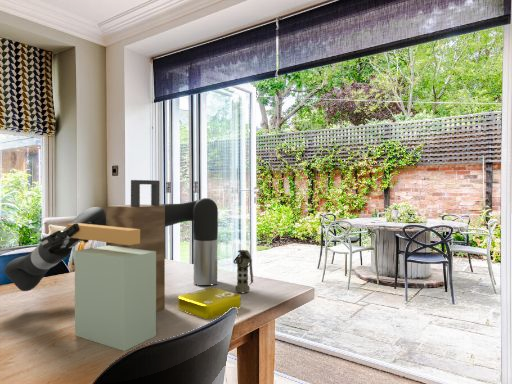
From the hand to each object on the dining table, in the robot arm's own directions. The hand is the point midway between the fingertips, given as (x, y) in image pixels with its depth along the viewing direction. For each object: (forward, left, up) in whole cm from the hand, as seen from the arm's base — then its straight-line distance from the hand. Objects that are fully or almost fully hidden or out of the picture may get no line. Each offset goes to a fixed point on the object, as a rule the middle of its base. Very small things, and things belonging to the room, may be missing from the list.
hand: (84, 225), depth 99 cm
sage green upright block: (-10, +7, -27) cm, 30 cm away
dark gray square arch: (-14, -10, +5) cm, 18 cm away
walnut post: (-11, -12, -27) cm, 32 cm away
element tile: (-33, -13, -28) cm, 45 cm away
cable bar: (-6, +4, -3) cm, 8 cm away
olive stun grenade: (-45, -28, -27) cm, 60 cm away
